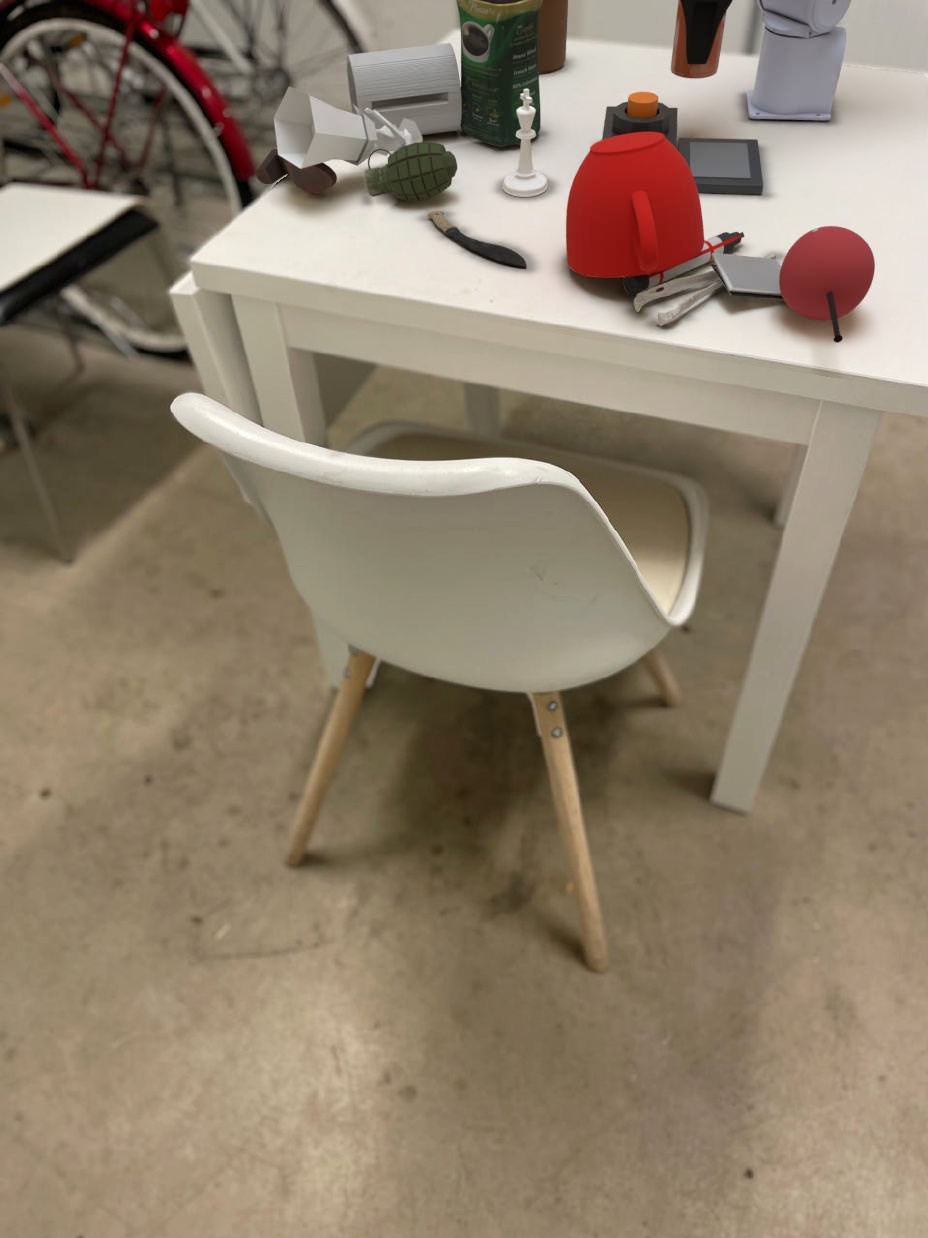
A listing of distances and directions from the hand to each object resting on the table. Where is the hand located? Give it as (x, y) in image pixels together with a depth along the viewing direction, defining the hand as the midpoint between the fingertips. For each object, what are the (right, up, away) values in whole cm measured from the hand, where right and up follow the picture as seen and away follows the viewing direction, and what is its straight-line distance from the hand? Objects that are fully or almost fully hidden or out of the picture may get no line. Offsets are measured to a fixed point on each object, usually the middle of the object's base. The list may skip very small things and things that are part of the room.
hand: (696, 53), depth 106 cm
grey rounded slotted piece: (-39, -2, +6) cm, 40 cm away
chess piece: (-19, -15, 0) cm, 25 cm away
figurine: (-44, -12, -7) cm, 46 cm away
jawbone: (-2, -32, -15) cm, 36 cm away
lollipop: (+4, -41, -30) cm, 51 cm away
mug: (-18, +12, +24) cm, 32 cm away
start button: (-7, -8, -3) cm, 11 cm away
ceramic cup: (-11, -21, -22) cm, 33 cm away
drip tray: (+2, -13, +1) cm, 13 cm away
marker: (-4, -29, -15) cm, 33 cm away
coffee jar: (-22, -4, +9) cm, 24 cm away
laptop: (+1, -31, -19) cm, 36 cm away
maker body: (-6, -12, +2) cm, 14 cm away
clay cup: (0, -1, +1) cm, 2 cm away
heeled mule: (-46, -14, -1) cm, 48 cm away
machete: (-22, -24, -7) cm, 34 cm away
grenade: (-26, -14, -4) cm, 30 cm away
